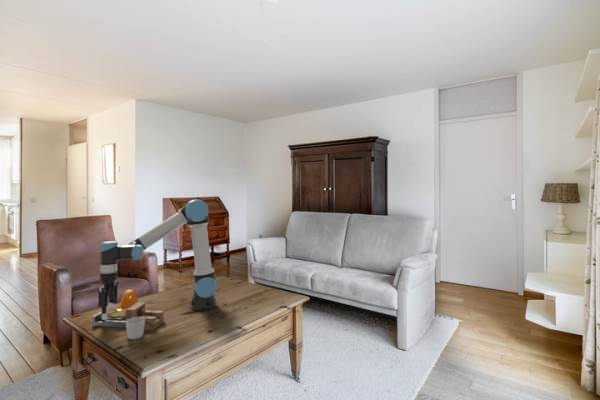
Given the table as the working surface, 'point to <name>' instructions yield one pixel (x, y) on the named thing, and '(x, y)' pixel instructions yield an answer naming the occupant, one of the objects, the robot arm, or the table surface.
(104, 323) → the v block
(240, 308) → the table surface
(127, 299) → the bracket
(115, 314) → the axle
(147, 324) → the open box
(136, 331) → the cup
